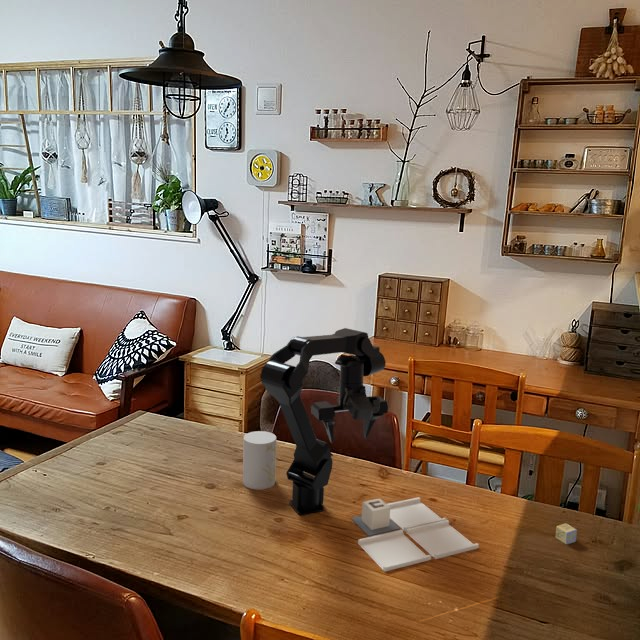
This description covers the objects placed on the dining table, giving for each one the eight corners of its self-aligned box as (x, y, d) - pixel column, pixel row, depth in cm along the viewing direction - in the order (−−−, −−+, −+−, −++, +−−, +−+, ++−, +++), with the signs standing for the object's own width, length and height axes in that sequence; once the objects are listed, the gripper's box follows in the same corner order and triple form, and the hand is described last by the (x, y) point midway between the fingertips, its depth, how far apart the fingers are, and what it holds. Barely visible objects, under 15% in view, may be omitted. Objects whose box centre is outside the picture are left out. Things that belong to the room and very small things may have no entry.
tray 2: (384, 572, 126) (384, 567, 126) (357, 543, 136) (357, 539, 136) (430, 560, 131) (431, 556, 131) (401, 533, 141) (402, 529, 141)
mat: (368, 537, 139) (368, 535, 139) (351, 519, 146) (351, 517, 146) (399, 529, 142) (400, 528, 142) (381, 513, 149) (381, 511, 149)
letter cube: (371, 529, 141) (372, 510, 140) (361, 520, 145) (362, 501, 144) (389, 525, 143) (390, 507, 142) (378, 516, 147) (379, 498, 146)
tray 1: (405, 532, 141) (405, 528, 141) (379, 509, 151) (379, 505, 151) (445, 522, 146) (446, 518, 146) (418, 501, 156) (418, 497, 156)
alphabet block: (565, 545, 139) (567, 532, 138) (554, 538, 142) (556, 525, 141) (575, 542, 140) (577, 529, 140) (564, 535, 143) (566, 522, 143)
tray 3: (435, 559, 131) (435, 555, 131) (406, 533, 141) (406, 529, 141) (478, 548, 136) (478, 544, 136) (447, 523, 146) (447, 519, 146)
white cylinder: (270, 491, 158) (271, 445, 155) (238, 487, 159) (239, 441, 157) (278, 477, 165) (280, 433, 163) (248, 473, 167) (249, 429, 165)
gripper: (328, 394, 146) (326, 458, 149) (401, 387, 152) (397, 448, 156) (311, 379, 156) (309, 440, 159) (380, 373, 163) (376, 431, 166)
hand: (348, 440), depth 160 cm, fingers open, 9 cm apart
